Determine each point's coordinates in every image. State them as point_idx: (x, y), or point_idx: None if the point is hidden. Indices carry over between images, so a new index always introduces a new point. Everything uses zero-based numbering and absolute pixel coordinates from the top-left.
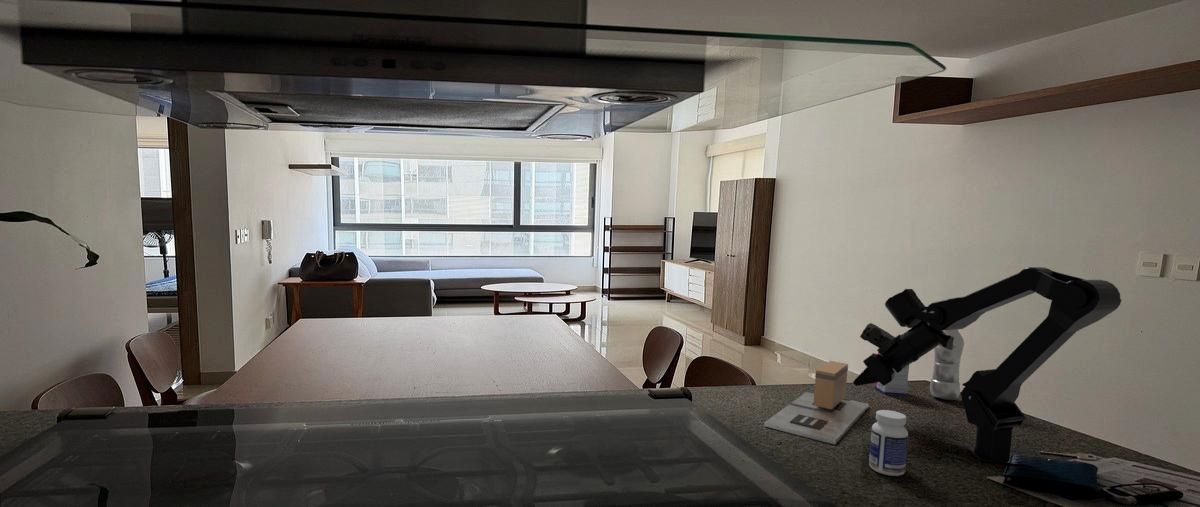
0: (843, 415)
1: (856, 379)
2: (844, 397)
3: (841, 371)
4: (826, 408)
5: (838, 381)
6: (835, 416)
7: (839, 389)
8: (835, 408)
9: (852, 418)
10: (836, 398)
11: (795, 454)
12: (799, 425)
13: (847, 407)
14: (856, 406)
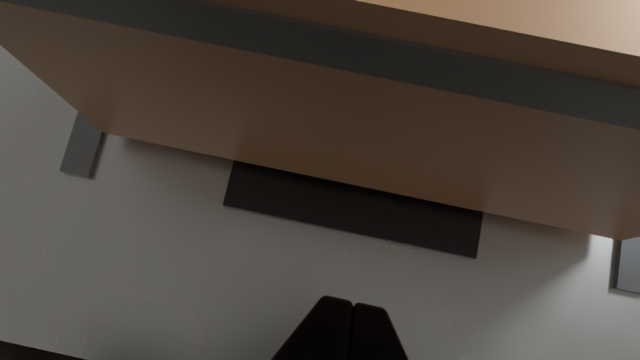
0: (75, 241)
1: (280, 353)
2: (587, 232)
3: (401, 43)
4: None
5: (245, 75)
6: (10, 176)
7: (345, 141)
8: (232, 166)
9: (26, 321)
10: (238, 142)
11: None
12: None
13: (361, 271)
14: (448, 355)
